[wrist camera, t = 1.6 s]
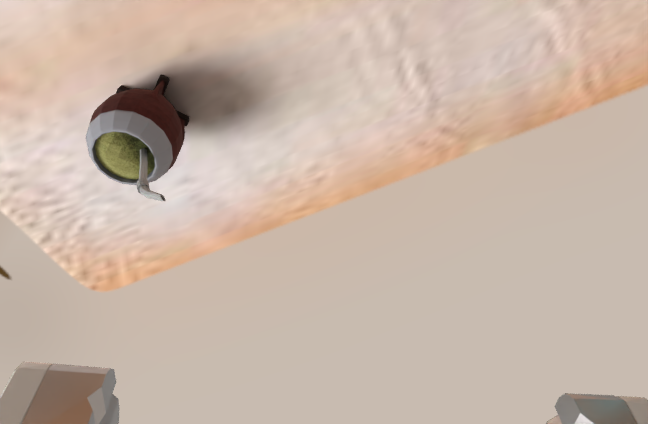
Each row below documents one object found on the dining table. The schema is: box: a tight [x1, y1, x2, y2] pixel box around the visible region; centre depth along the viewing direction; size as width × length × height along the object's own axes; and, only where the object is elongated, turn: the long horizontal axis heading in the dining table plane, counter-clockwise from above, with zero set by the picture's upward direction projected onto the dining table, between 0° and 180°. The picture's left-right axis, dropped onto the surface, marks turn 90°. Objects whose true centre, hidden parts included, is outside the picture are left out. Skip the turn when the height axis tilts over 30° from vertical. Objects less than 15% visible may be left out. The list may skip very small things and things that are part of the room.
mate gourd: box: [86, 75, 189, 201], centre depth 44 cm, size 8×8×15 cm
